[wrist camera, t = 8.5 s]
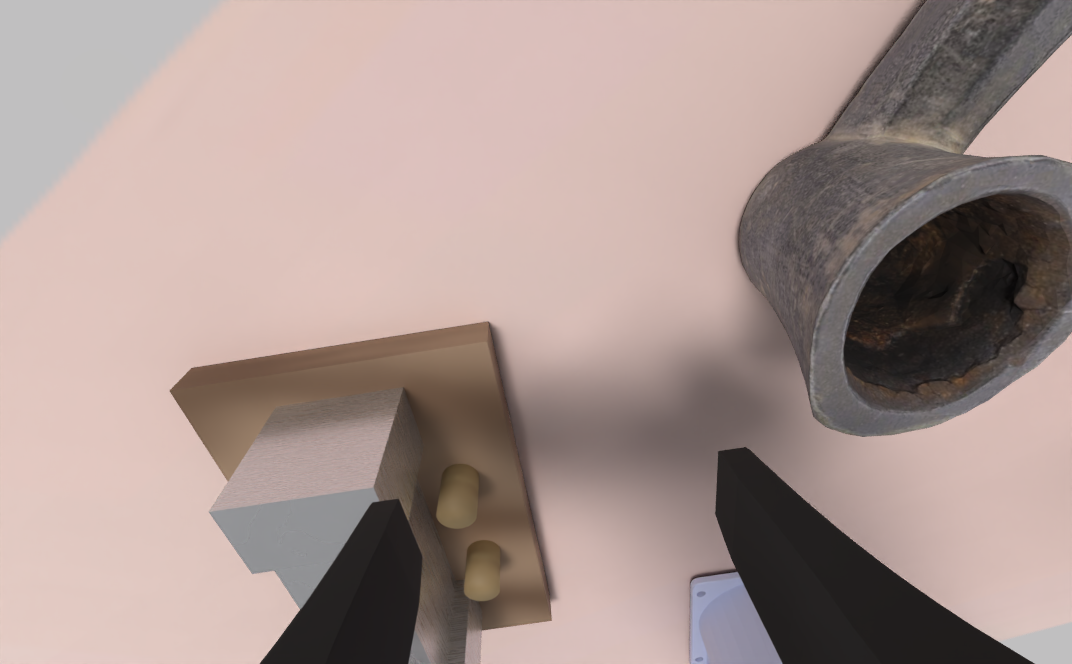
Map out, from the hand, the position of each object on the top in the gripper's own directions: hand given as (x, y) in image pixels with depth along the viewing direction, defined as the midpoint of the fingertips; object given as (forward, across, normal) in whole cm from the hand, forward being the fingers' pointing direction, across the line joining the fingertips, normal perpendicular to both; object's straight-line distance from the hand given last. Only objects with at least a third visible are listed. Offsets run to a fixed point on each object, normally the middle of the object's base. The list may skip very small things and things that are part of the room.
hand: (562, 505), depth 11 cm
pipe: (+10, -11, -4) cm, 15 cm away
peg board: (+9, +8, +9) cm, 15 cm away
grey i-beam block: (+8, +8, +9) cm, 14 cm away
